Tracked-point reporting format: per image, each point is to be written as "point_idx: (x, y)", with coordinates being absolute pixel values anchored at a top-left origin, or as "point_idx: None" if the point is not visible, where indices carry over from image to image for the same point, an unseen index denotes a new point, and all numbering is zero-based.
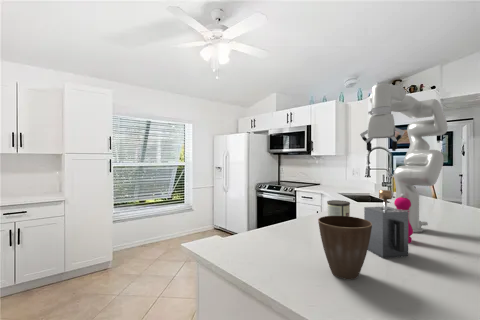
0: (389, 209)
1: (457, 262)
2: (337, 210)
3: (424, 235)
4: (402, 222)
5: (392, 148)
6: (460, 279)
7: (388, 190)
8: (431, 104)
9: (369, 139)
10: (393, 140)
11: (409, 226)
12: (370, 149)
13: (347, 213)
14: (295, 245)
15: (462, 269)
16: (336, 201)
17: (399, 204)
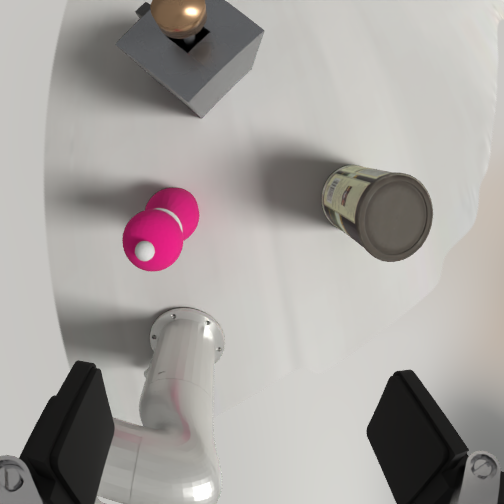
0: (174, 43)
1: (68, 116)
2: (380, 172)
3: (141, 303)
4: (139, 9)
5: (86, 383)
6: (75, 28)
7: (164, 14)
8: None
9: (468, 501)
10: (30, 477)
11: (148, 207)
12: (386, 420)
13: (347, 195)
14: (390, 12)
15: (65, 80)
16: (405, 232)
17: (159, 211)
